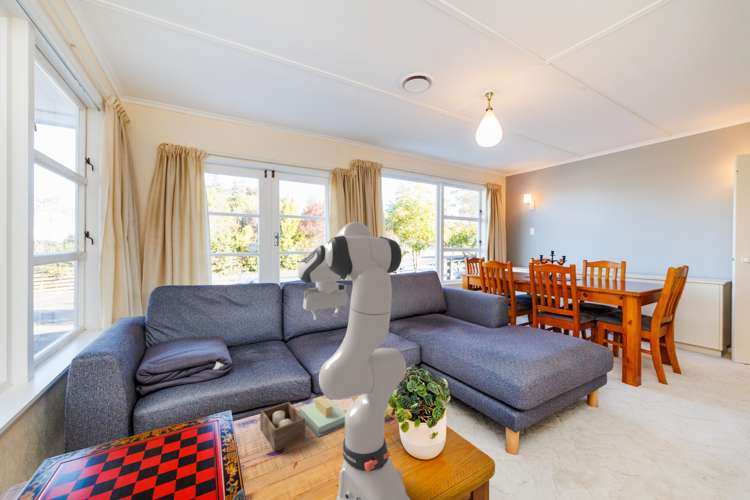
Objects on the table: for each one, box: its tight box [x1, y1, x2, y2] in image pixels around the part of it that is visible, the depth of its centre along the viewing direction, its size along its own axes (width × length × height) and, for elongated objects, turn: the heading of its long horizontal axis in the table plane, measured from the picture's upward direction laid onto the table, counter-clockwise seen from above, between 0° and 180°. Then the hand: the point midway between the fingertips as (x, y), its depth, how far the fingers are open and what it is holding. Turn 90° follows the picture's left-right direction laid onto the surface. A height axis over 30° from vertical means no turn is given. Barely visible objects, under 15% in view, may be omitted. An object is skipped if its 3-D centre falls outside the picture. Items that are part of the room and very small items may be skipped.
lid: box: [299, 396, 346, 433], centre depth 120 cm, size 17×13×6 cm
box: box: [259, 401, 306, 452], centre depth 109 cm, size 15×11×7 cm
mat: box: [297, 410, 345, 438], centre depth 120 cm, size 20×15×1 cm
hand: (326, 318), depth 130 cm, fingers open, 8 cm apart
